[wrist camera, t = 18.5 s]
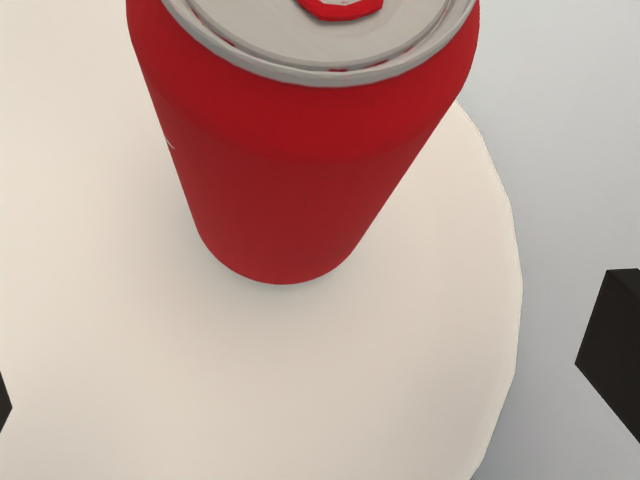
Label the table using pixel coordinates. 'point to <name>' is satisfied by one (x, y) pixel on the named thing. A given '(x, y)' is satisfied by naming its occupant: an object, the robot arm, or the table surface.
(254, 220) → the beverage can
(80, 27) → the plate
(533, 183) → the table surface
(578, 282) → the table surface
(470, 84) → the table surface
